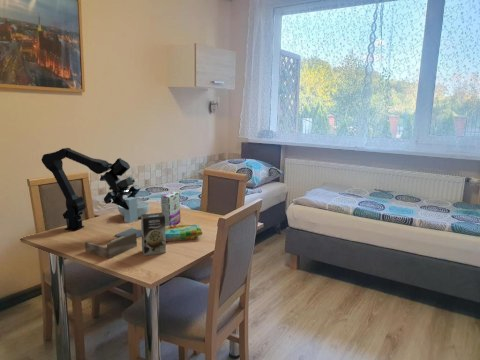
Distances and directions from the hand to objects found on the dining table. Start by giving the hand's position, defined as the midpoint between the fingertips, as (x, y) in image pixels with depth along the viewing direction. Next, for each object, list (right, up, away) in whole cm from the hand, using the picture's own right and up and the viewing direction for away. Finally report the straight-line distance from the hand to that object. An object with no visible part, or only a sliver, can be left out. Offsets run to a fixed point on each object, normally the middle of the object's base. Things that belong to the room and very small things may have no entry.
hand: (132, 208), depth 166 cm
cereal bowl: (-9, -7, +32) cm, 34 cm away
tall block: (-1, -6, +2) cm, 7 cm away
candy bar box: (+15, -10, +18) cm, 26 cm away
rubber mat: (-1, -13, +3) cm, 13 cm away
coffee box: (+14, -17, -16) cm, 27 cm away
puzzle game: (+22, -14, +2) cm, 26 cm away
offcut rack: (-5, -16, -14) cm, 22 cm away
